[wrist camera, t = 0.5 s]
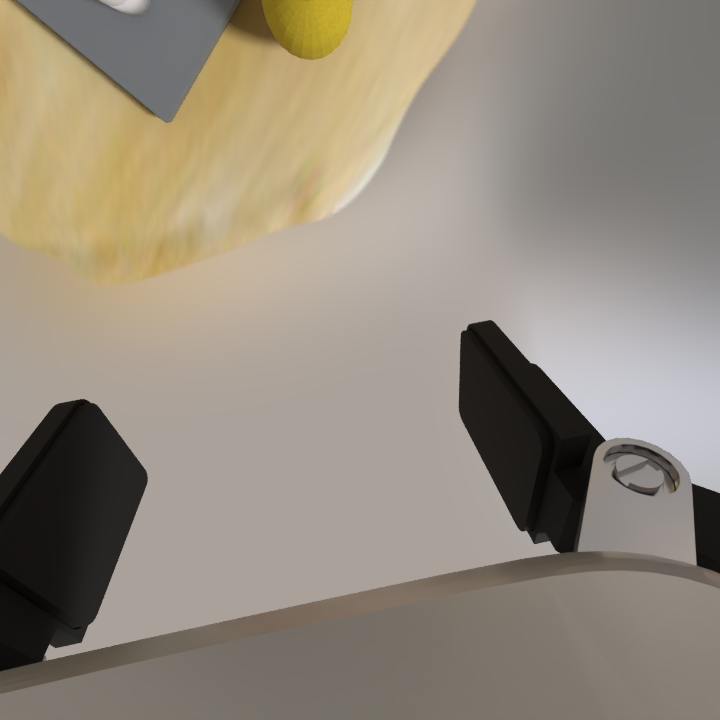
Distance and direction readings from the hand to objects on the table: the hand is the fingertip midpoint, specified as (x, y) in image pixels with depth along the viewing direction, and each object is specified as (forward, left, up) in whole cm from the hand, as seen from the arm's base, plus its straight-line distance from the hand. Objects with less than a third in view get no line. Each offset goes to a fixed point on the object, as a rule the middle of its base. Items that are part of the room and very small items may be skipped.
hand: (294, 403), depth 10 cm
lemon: (-10, -6, -28) cm, 31 cm away
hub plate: (-3, -15, -28) cm, 32 cm away
